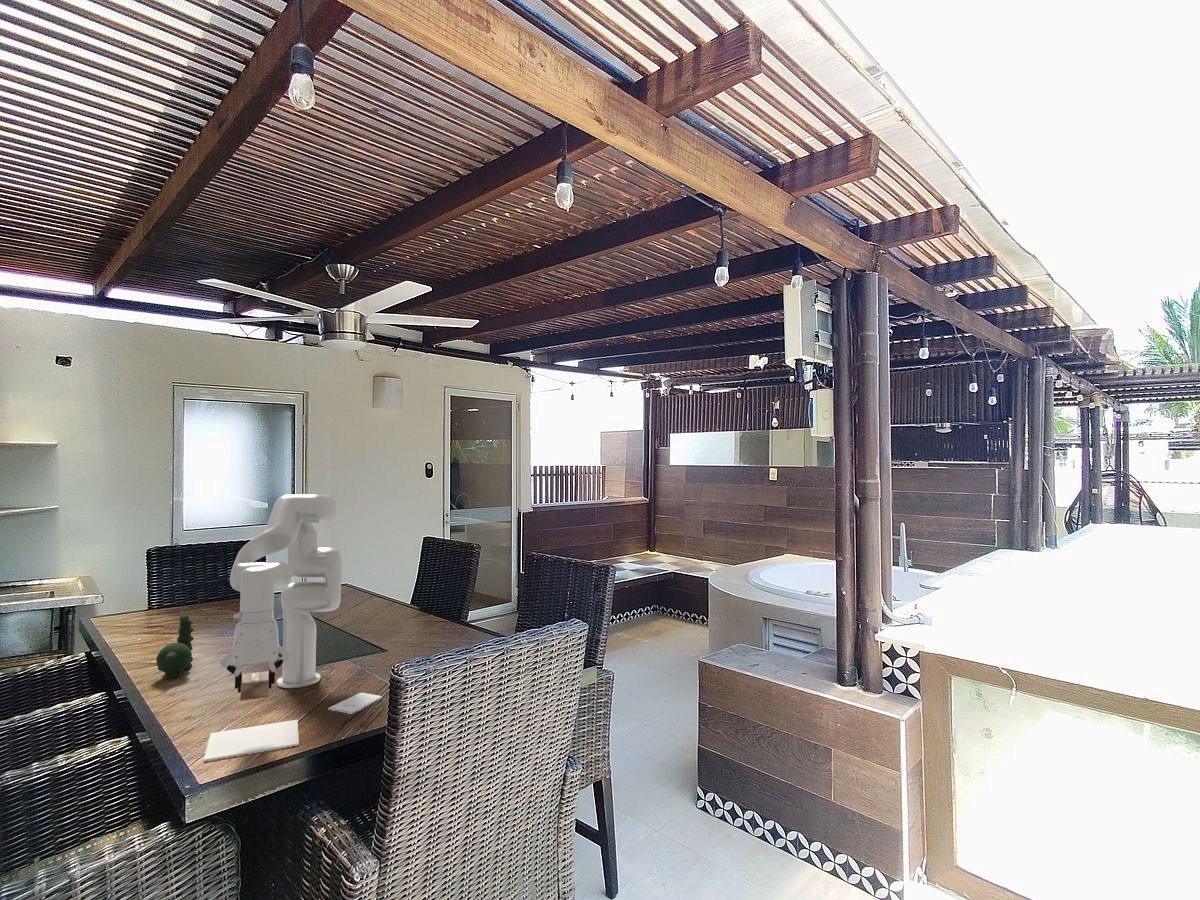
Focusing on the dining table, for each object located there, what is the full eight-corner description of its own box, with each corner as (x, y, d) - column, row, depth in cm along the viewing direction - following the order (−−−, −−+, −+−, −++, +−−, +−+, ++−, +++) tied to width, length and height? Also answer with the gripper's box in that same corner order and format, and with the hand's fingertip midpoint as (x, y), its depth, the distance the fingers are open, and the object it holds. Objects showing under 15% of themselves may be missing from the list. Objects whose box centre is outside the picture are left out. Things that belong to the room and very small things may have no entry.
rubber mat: (210, 735, 160) (210, 733, 160) (297, 721, 169) (297, 719, 169) (203, 762, 145) (203, 759, 145) (298, 745, 154) (298, 743, 154)
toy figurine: (168, 669, 215) (149, 686, 192) (171, 613, 217) (152, 623, 195) (200, 666, 219) (185, 682, 196) (202, 611, 221) (188, 620, 198)
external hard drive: (381, 701, 185) (351, 717, 174) (360, 697, 188) (328, 712, 177) (382, 696, 185) (351, 711, 174) (360, 692, 188) (328, 706, 177)
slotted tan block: (240, 700, 151) (240, 685, 151) (241, 688, 160) (242, 673, 160) (268, 696, 154) (268, 681, 154) (268, 684, 163) (268, 670, 163)
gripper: (215, 623, 151) (213, 699, 150) (295, 616, 158) (293, 688, 158) (218, 616, 157) (216, 689, 157) (294, 610, 165) (293, 679, 164)
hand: (255, 688), depth 157 cm, fingers closed on slotted tan block, 6 cm apart
